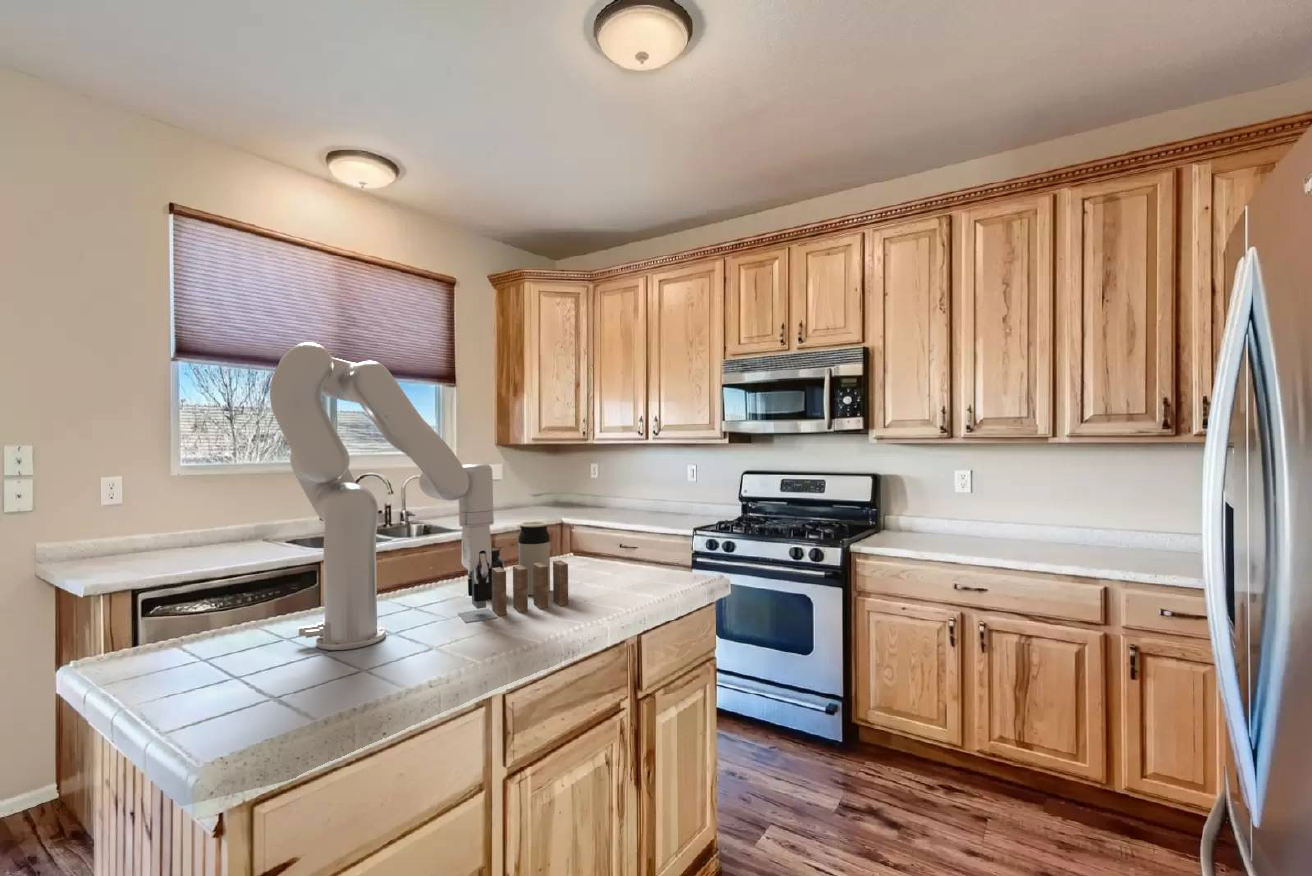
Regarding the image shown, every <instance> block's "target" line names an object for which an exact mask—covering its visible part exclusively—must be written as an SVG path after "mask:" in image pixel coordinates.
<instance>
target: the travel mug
mask: <svg viewBox="0 0 1312 876" xmlns="http://www.w3.org/2000/svg"><path fill="white" fill-rule="evenodd" d="M548 525H549V522H547V521H541V520H537V521H536V520H534V521H533V520H532V521H531V520H530V521H524V522H520V523H519V527H520V533H519V534H518V536H517V537H518V539H517V540H518V565H522V566H524V567H525V568H527V577H528V596H534V592H533V563H543V564H545V565H546V566H548V593H549V592H550V591H551V555H550V554H551V552H550V551H551V547H550V545H551V542H550V538H551V537H550V534H549V532H548Z"/></svg>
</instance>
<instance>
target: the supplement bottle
mask: <svg viewBox="0 0 1312 876" xmlns="http://www.w3.org/2000/svg"><path fill="white" fill-rule="evenodd" d="M491 554H492V563H491V568H490V569H488V582H489V600H492V568H497V567H501V568H502V569H504V570H505V562H504V560H503V559H502V558H500V557H501V549H500V548H498V547H491Z"/></svg>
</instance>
